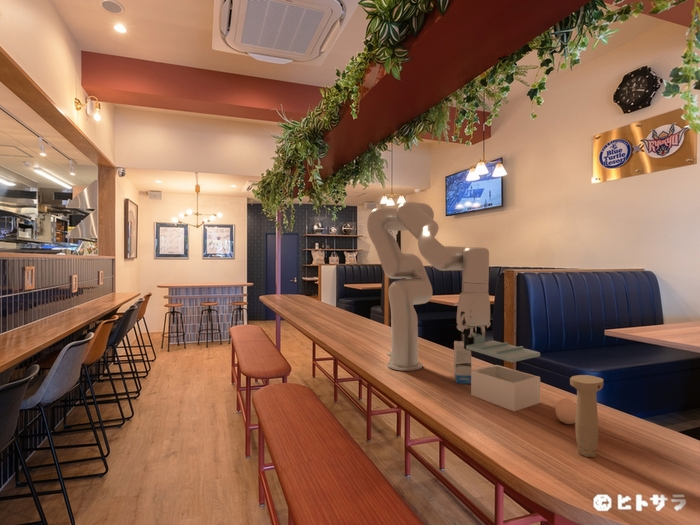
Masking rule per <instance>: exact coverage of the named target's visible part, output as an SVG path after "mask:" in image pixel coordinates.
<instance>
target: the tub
mask: <svg viewBox="0 0 700 525" xmlns="http://www.w3.org/2000/svg"><path fill="white" fill-rule="evenodd" d="M471 370H472V369H471ZM470 385H471V386H470V396H472V397H476V398H479V399H481V400H483V401H486V402H489V403H490V404H494V405H497V406H499V407H501V408H505V409H507V410H510V411H512V412H517V411H520V410H523V409H526V408H528V407H533V406H535V405H539V404H541V376H538V375H534V374H530V373H527V372H525V371H524V372H523V371H520V370H516V369H513V368H509V367H505V366H502V365H498V364H495V365H490V366H486V367H481V368H477V369H473V370H472V371H471V384H470Z"/></svg>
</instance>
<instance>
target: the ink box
mask: <svg viewBox="0 0 700 525" xmlns="http://www.w3.org/2000/svg"><path fill="white" fill-rule="evenodd" d="M453 355H454V356H453V357H454V358H453V360H454V361H453V362H454V364H453V365H454V369H453V371H454V379H455V381H456V384H465V385H471V371H472V351H470V350H466V349H464V343H463V340H461V341H459V340H454V342H453Z"/></svg>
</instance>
